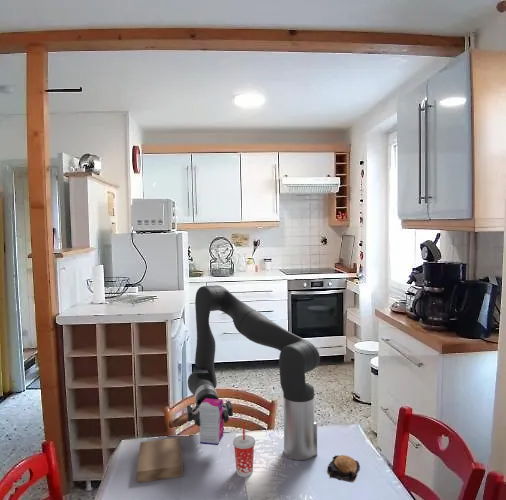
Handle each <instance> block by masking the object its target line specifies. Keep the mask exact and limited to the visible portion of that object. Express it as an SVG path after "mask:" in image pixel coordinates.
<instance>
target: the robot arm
mask: <svg viewBox="0 0 506 500" xmlns="http://www.w3.org/2000/svg"><path fill="white" fill-rule="evenodd" d="M194 303H195V304H194V305H195V306H194V307H195V321H196V322H195V323H196V324H195V325H196V348H195V357H194V364H195V366H196V367H198V368H200V369H203V370H207V372H205V371H204V372H203V371H202V372H201V371H200V372H199V371H194V372H192V373H190V375H188V378H187V387H188V390H189V392H190V393H191V394H192V395H193V396H194V403H195V407H193V406H191V405H190V404H189V405H186V416H187V421H188V422H192V421H194V425H195V426H197V427H200V407H199V406H200V405H201V403H202V402H203V401H204V400H205V398H209V399H219V395H218V392H217V390H216V388H217V383H218V382H217V377H216V372H215V370H216V369H215V357H216V356H215V355H216V340H215V337H214V334H213V331H212V329H211V326H210V314H211V312H215V311H219V312H222V313H224V314H226V315H227V316H229V317H230V318H231V319H232V322H233V325H234V327H235V329H236V331H237V332H239V334H241V336H243V337H245V338H246V339H248V340H249V341H251V342H253V343H255V344H257V345H261V346H264V347H268V348H271V349H272V348H273V349H275V350H278V351H280V353H279V356H278V357H279V358H278V367H279V379H280V380H279V381H280V382H279V383H280V386H281V390H282V394H283V396H282V397H283V403H282V405H283V452H284V454H285V457H288V458H289V459H291V460H296V461H304V460H310V459H312V458H313V457H314V456H317V455H318V424H317V421H315V388H314V386H313V385H312V384H310V383H307V382H306V375H305V374H307V373H309V372H311V371H313V370H315V369H316V368H317V367H318V366H319V365H320V362H321V356H320V353H319V351H318V349H317V348H316V346H315V345H314V344H313V343H312V342H310V341H309V340H307V339H305V338H303V337H300V336H298V335H296V334H294V333H293V332H291V331H289V330H287V329H285V328H283V327H282V326H280V325H279V324H277V323H276V322H275V321H272V320H271V319H270V318H268V317H267V316H265V315H264V314H263V313H261V312H259V311H258V310H256V309H254V308H253V307H251V306H249V305H248V304H247V303H245V302H243V301H241V299H239V298H237V297H236V296H235V295H234V294H232V292H230V291H229V290H228V289H227V288H226V287H224V286H222V285H217V284H216V285H215V284H214V285H203V286H200V287H199V288H198V289H197V291H196V293H195V300H194ZM233 411H234V410H233V406H232V402H231V401H230V400H227V401H226V402H225V403H223V424H225V423H227V424H228V422H229V419H230V418H229V417H233V416H234V415H233V414H234V413H233Z"/></svg>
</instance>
